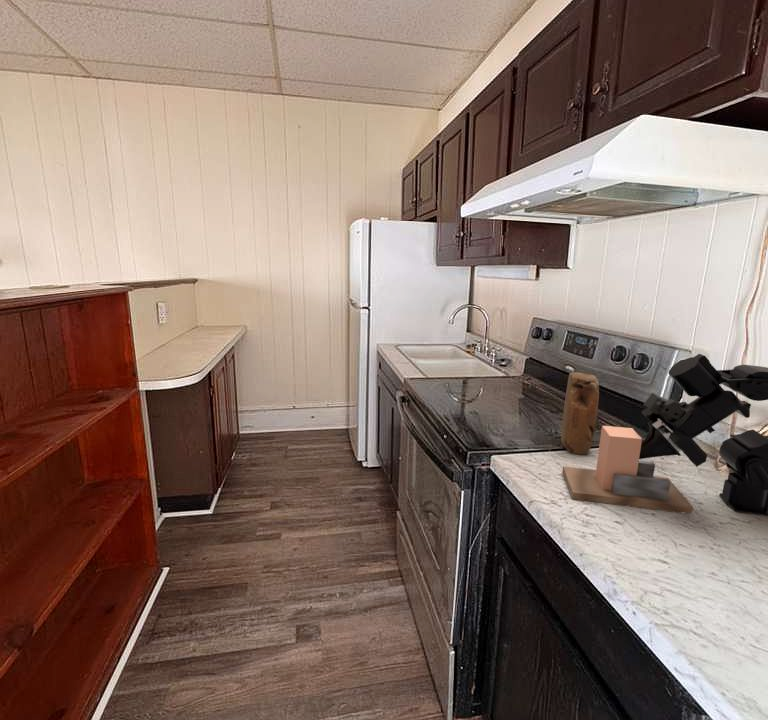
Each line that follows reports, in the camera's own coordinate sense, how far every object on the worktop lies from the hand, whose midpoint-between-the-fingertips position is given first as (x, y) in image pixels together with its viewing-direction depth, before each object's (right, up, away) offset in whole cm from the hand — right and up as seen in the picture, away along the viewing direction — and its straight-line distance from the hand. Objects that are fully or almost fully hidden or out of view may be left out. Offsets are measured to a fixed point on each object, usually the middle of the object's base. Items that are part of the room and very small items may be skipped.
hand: (634, 457), depth 89 cm
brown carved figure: (-1, -3, +24) cm, 24 cm away
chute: (-2, -8, +2) cm, 8 cm away
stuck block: (-3, -6, +2) cm, 7 cm away
